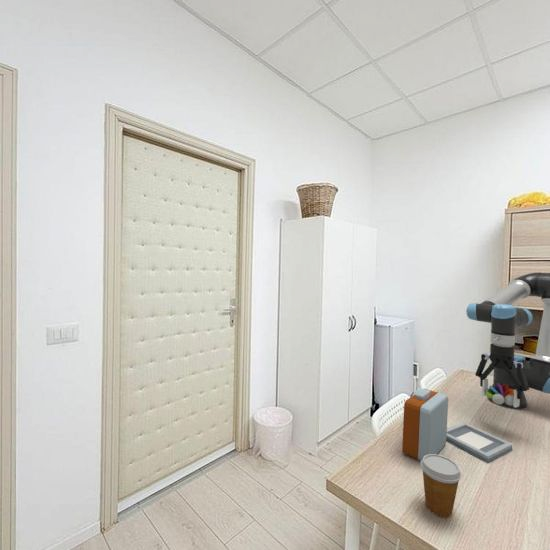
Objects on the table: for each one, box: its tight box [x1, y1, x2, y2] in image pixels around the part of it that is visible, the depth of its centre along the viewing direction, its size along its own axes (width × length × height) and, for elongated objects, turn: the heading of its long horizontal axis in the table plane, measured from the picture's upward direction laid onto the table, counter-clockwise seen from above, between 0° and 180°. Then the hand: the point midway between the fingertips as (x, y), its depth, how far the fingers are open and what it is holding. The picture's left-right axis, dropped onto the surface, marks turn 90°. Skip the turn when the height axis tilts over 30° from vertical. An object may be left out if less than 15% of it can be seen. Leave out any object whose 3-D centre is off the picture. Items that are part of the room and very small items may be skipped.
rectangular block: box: [401, 387, 449, 462], centre depth 109 cm, size 18×9×21 cm, turn 135°
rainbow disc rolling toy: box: [485, 383, 514, 405], centre depth 121 cm, size 8×10×7 cm
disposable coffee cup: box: [420, 454, 462, 518], centre depth 82 cm, size 10×10×12 cm
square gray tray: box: [446, 421, 513, 464], centre depth 113 cm, size 16×17×2 cm
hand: (499, 400), depth 121 cm, fingers closed on rainbow disc rolling toy, 10 cm apart
